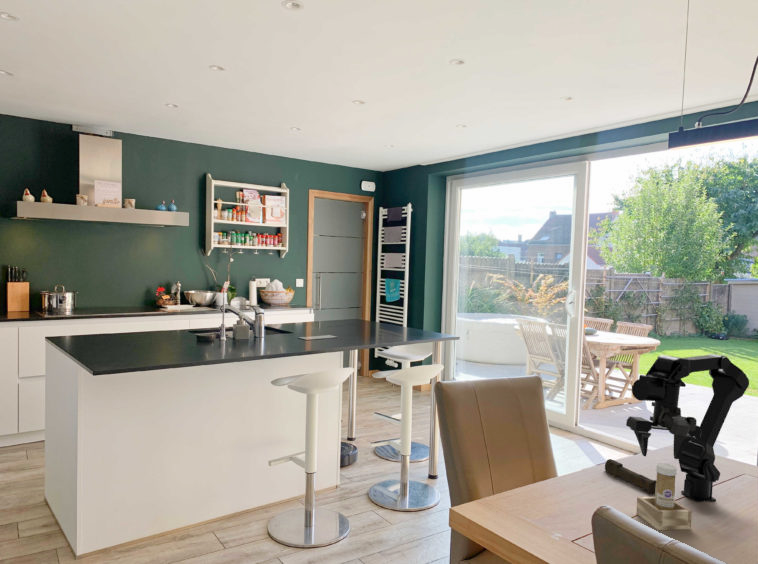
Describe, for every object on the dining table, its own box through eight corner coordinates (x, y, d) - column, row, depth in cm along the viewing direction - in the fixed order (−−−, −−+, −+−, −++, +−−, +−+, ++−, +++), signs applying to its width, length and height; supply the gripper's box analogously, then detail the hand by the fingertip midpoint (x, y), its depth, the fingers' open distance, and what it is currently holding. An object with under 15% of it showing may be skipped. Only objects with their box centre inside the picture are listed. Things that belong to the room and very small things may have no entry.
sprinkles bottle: (660, 521, 140) (663, 468, 139) (650, 513, 144) (653, 462, 144) (677, 521, 140) (680, 468, 140) (666, 513, 145) (669, 462, 144)
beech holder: (667, 513, 147) (668, 496, 147) (690, 529, 138) (692, 511, 138) (636, 513, 146) (637, 497, 146) (658, 529, 137) (659, 512, 137)
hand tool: (659, 494, 161) (660, 478, 161) (649, 495, 159) (650, 479, 159) (611, 470, 179) (612, 456, 178) (601, 471, 177) (602, 457, 177)
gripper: (651, 404, 144) (644, 464, 144) (718, 411, 145) (711, 470, 145) (628, 395, 155) (622, 451, 155) (691, 402, 157) (684, 456, 157)
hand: (660, 457), depth 153 cm, fingers open, 9 cm apart
